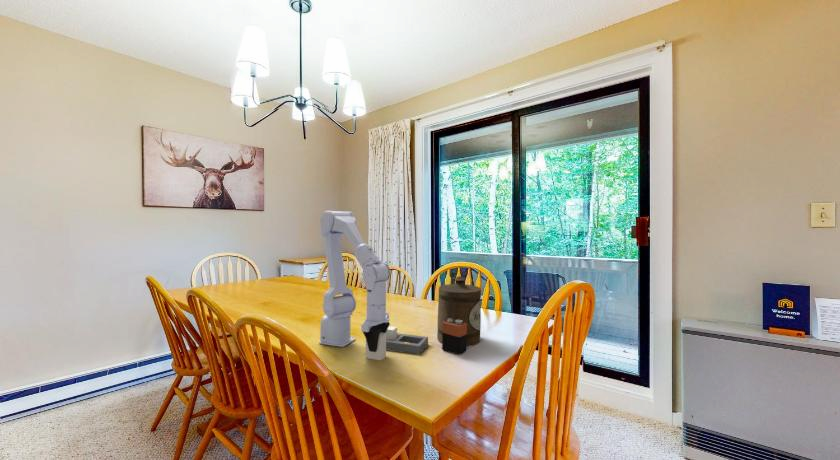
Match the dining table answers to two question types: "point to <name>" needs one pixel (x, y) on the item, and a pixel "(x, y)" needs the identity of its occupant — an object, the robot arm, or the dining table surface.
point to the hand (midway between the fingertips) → (375, 348)
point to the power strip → (404, 341)
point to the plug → (378, 348)
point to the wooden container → (460, 308)
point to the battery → (454, 336)
